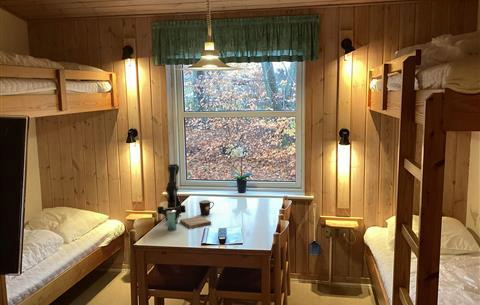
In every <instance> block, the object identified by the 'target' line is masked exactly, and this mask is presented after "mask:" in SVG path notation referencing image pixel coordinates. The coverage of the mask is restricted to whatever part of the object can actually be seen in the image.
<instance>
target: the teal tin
mask: <svg viewBox="0 0 480 305" xmlns="http://www.w3.org/2000/svg"><path fill="white" fill-rule="evenodd" d="M166 212H167V213H166V214H167V221H166V225H167V226H166V227H167V231H169V232H170V231H171V232H172V231H173V232H174V231H177V224H176V210H167V211H166Z"/></svg>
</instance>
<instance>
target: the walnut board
mask: <svg viewBox="0 0 480 305" xmlns="http://www.w3.org/2000/svg"><path fill="white" fill-rule="evenodd" d="M179 223H181V224H182V225H184V226H185V227H188V228H189V229H194V228H200V227H205V226H210V225H212V221H211V220H209V219H207V218H205V217H204V216H203V215H198V216H193V217H186V218H180V220H179Z"/></svg>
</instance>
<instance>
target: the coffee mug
mask: <svg viewBox="0 0 480 305" xmlns="http://www.w3.org/2000/svg"><path fill="white" fill-rule="evenodd" d="M198 204H199V210H200V216H202V217H205V216H209V215H211V214H210V211H211V209H212V208H213V207H214V205H215V203H214V201H211V200H207V199H204V200H199V201H198ZM211 204H212V206H211Z"/></svg>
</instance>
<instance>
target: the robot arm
mask: <svg viewBox="0 0 480 305" xmlns="http://www.w3.org/2000/svg"><path fill="white" fill-rule="evenodd" d="M167 171H168V173H169V180H168V182H167V186H166V187H165V192H166V194H167V207H164V205H161V206H158V207H157V214H159V215H164V218H165V220H166V222H167V212H166V211H167V210H176V220H177V221H178V218H179V216H180V217H181V216H182V215H181V214H184V213H186V205H184V204H183V205H182V202H181V200H180V197H179V196H178V191H179V187H178V183H177V182H178V180H177V177H178V174H179V171H180V165H178V164H177V163H172V164H169V165H167Z"/></svg>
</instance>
